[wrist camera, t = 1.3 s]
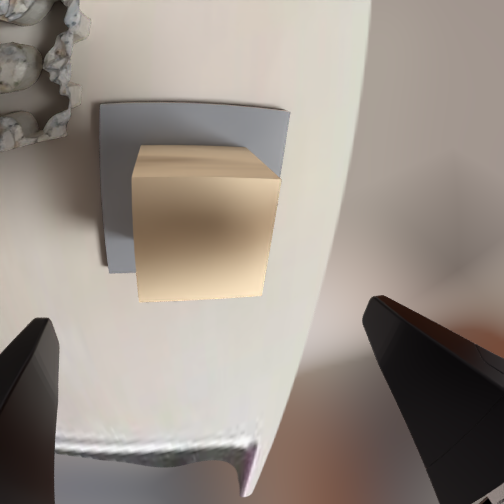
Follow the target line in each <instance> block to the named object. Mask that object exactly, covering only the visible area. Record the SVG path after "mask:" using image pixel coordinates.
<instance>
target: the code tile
mask: <svg viewBox="0 0 504 504" xmlns="http://www.w3.org/2000/svg"><path fill="white" fill-rule="evenodd" d="M289 117H290V112H289V111H286V110H278V109H270V108H261V107H251V106H240V105H228V104H212V103H191V102H123V103H102V104H100V132H99V144H100V181H101V199H102V213H103V225H104V235H105V245H106V253H107V261H108V269H109V273H136V265H135V252H134V237H133V217H132V174H133V170H134V167H135V163H136V160H137V157H138V153H139V150H140V147H141V145H203V146H229V147H246V148H247V149H248V150H249V151H251V152H252V153H253V154H254V155H255V156H256V157H257V158H258V159H260V160H261V161H262V162H263V163H264V164H265V165H266V166H267V167H268V168H270V169H271V170H272V171H273V172H274V173H275V174H276V175H277V176H278V177H279V178H280V175H281V168H282V162H283V156H284V149H285V143H286V137H287V130H288V124H289Z"/></svg>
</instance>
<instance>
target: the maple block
mask: <svg viewBox="0 0 504 504" xmlns="http://www.w3.org/2000/svg"><path fill="white" fill-rule="evenodd" d="M280 185H281V179H280V178H279V177H278V176H277V175H276V174H275V173H274V172H273V171H272V170H271V169H270V168H268V167H267V166H266V165H265V164H264V163H263V162H262V161H261V160H260V159H258V158H257V157H256V156H255V155H254V154H253V153H252V152H251V151H249V150H248V149H247V148H246V147H229V146H203V145H141V147H140V150H139V153H138V157H137V160H136V163H135V167H134V170H133V174H132V217H133V237H134V252H135V265H136V277H137V287H138V297H139V302H163V301H185V300H205V299H222V298H238V297H252V296H262V291H263V285H264V280H265V274H266V268H267V262H268V257H269V251H270V245H271V239H272V233H273V227H274V222H275V216H276V210H277V204H278V198H279V191H280Z"/></svg>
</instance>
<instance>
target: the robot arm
mask: <svg viewBox="0 0 504 504" xmlns="http://www.w3.org/2000/svg"><path fill="white" fill-rule="evenodd" d="M362 322H363V326H364V328H365V331H366V334H367V336H368V339H369V342H370V344H371V347H372V349H373V352H374V355H375V357H376V360H377V362H378V365H379V367H380V369H381V371H382V373H383V375H384V377H385V380H386V381H387V383H388V385H389V388H390V390H391V392H392V394H393V396H394V398H395V400H396V402H397V405H398V407H399V409H400V411H401V413H402V416H403V418H404V420H405V422H406V424H407V427H408V429H409V431H410V433H411V435H412V438H413V440H414V442H415V445H416V447H417V449H418V452H419V454H420V456H421V459H422V461H423V463H424V466H425V468H426V471H427V473H428V476H429V478H430V481H431V483H432V486H433V488H434V491H435V493H436V496H437V498H438V501H439V503H440V504H472V503H473V502H475V501H477V500H478V499H480V498H482V497H483V496H485V495H487V497H486V498H484V499H483V500H482V501H481V502H480V503H479V504H504V358H501V357H499V356H497V355H495V354H493V353H491V352H490V351H488V350H486V349H484V348H482V347H480V346H478V345H477V344H474V343H473V342H471V341H469V340H467V339H465V338H463V337H462V336H460V335H458V334H456V333H454V332H452V331H450V330H449V329H447V328H445V327H443V326H441V325H439V324H437V323H436V322H434V321H431V320H430V319H428V318H426V317H424V316H422V315H420V314H419V313H417V312H415V311H413V310H411V309H409V308H407V307H405V306H403V305H401V304H399V303H397V302H396V301H394V300H392V299H390V298H388V297H386V296H384V295H380V296H373V297H372V298H371V299H370V300H369V303H368V305H367V308H366V310H365V312H364V315H363V318H362ZM58 372H59V341H58V338H57V336H56V333H55V330H54V327H53V324H52V322H51V320H50V319H49V318H35V319H33V320H32V321H31V322H30V323H29V324H28V325H27V326H26V327H25V328H24V329H23V330H22V332H21V333H20V334H19V335H18V336H17V337H16V338H15V339H14V340H13V341H12V342H11V343H10V344H9V345H8V346H7V347H6V348H5V349H4V351H3V352H2V353H1V354H0V504H55V500H54V499H55V498H54V454H55V433H56V419H57V408H58Z"/></svg>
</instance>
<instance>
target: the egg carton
mask: <svg viewBox="0 0 504 504" xmlns="http://www.w3.org/2000/svg"><path fill="white" fill-rule="evenodd" d="M55 1H59V0H0V20H1V21H6V22H10V23H14V24H18V25H21V26H31V25H34V24H36V23H38V22H39V21H41V20H42V19H43V18H44V17H45V16H46V15H47V13H48V12H49V11H50V9H51V7H52V5H53V4H54V2H55ZM61 1H62V2H63V4H64V5H65V6H66V7H68V9H67V12H66V14H65V17H64V23H65V25H66V26H67V27H68V28H69V29H68V30H67V31H65V32H63V33H60V34H59V35H58V36H57V38H56V41H55V45H54V46H53V48H52V49H51V50H50V51H49V52H48V53H47V54H46V56H45V58H44V64H43V60H42V56H41V54H40V52H39V51H38V50H37V49H36V48H35V47H32V46H29V45H24V44H18V43H15V42H12V43H7V44H0V94H3V93H9V92H15V91H19V90H24V89H26V88H29V87H30V86H31V85H33V84H34V83H35V82H36V80H37V79H38V78H39V76H40V73H41V70H42V68H43V70H45V71H47V72H49V74H50V78H49V79H50V80H51V82H54V83H56V84H59V85H60V90H59V93H60V95H63V96H68V97H69V100H70V101H69V107H68V109H67V110H64V111H62V112H60V113H57V114H55V115H54V116H52V117H51V118H50V119H49V120H48V122H47V124H46V126H45V127H44V129H43V130H39V127H38V123H37V121H36V119H35V118H34V117H33V116H32V115H31V113H29V112H25V111H18V112H14V113H10V114H7V115H4V116H1V117H0V152H2V151H6V150H10V149H14V148H18V147H22V146H26V145H29V144H33V143H37V142H41V141H46V140H51V139H55V138H60V137H64V136H67V135H68V134H67V132H66V125H67V122H68V120H69V119H70V117H71V109H72V108H74V107H76V106H79V105H80V104H81V93H82V86H81V85H79V84H74V83H72V82H70V81H69V80H70V78H71V74H72V65H71V61H70V57H71V55H72V51H73V45H74V44H75V43H77V42H79V41H82V40H84V39H87V37H88V36H89V30H90V25H91V19H90V18H88V17H87V16H85V15H84V14H83V13H82V12H81V11H80V8H79V0H61Z"/></svg>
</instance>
